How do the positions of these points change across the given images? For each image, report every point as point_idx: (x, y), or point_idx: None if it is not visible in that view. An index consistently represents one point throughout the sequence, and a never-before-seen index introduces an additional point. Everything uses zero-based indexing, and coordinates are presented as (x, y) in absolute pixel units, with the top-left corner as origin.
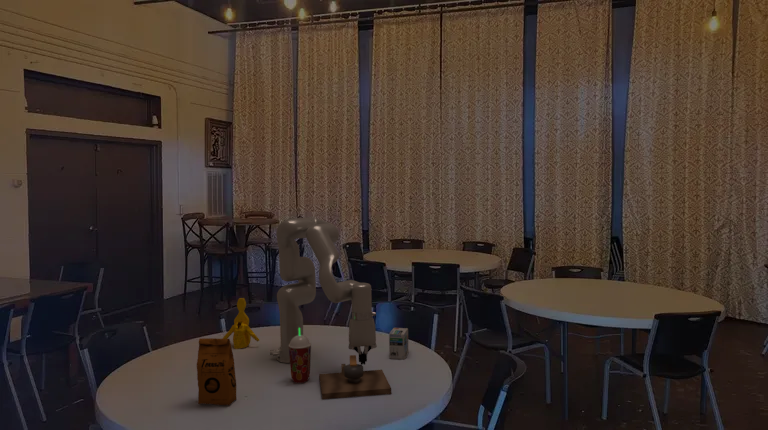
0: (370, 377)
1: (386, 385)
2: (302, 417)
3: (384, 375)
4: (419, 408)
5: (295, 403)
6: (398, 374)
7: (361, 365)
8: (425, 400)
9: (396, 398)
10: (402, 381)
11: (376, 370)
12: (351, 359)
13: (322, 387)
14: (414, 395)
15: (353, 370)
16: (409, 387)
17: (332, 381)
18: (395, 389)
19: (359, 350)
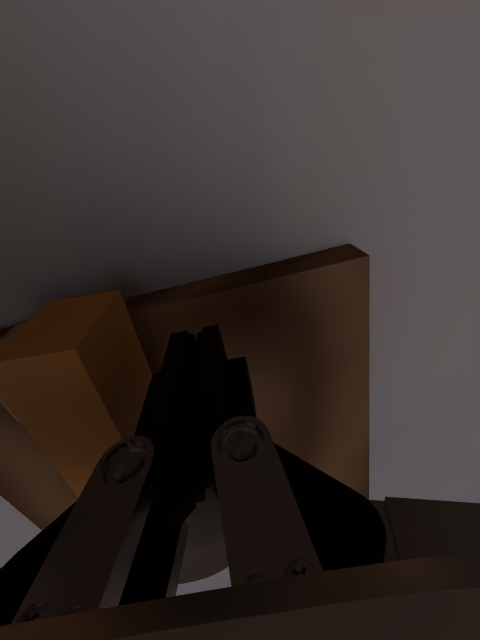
0: (272, 407)
1: (352, 482)
2: None
3: (365, 373)
4: None
5: (2, 558)
6: (473, 232)
7: (221, 530)
8: (464, 500)
9: (369, 499)
10: (451, 353)
11: (319, 282)
12: (86, 481)
13: (42, 524)
14: (443, 476)
15: (180, 581)
16: (456, 417)
17: (53, 471)
18: (384, 439)
19: (154, 575)
